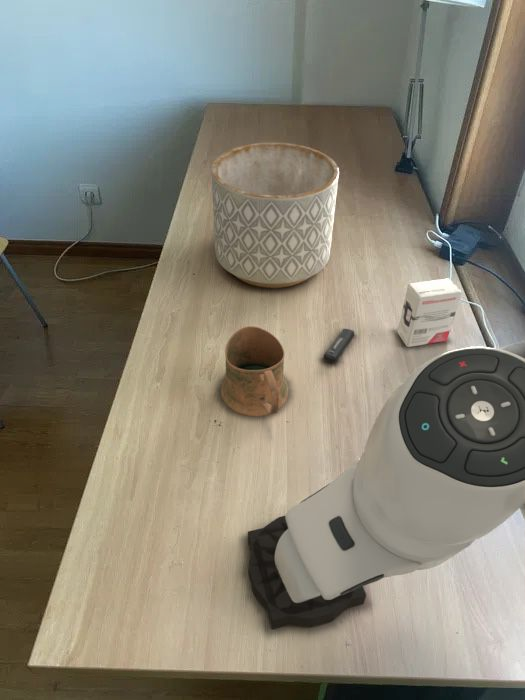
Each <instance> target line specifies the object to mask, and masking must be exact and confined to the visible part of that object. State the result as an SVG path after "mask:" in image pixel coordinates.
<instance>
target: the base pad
mask: <svg viewBox="0 0 525 700" xmlns="http://www.w3.org/2000/svg"><path fill="white" fill-rule="evenodd" d="M285 516H286V515H281V516H278V517H277V518H275V519H273V520H272V521H271V522H269V523H268V524H266V525H265V526H264V527H262V528H256V529H252V530H249V531H247V542H248V546H249V550H250V554H249V560H248V577H249V581H250V585H251V588H252V592H253V595H254V597H255V598H256V599H257V600H258V602H259V603H260V605H261V606H262V607H263V609H264V610H265V611H266V612H267V613H266V614H267V616H268V621H269V624H270V627H271V628H270V629H271V630H275V629H278V628H282V627H284V626H285V627H286V626H288V625H289V626H290V625H291V626H296V627H297V626H298V627H303V628H314V627H318V626H321V625H324V624H328V623H331V622H333V621H335V620H336V619H337V618H338V617H339V616H340V615H342V614H343V613H344V612H345V611H346V610H348V609H350V608H353V607H357V606H361V605H364V603H365V601H366V597H367V593H366V591H365V589H364V586H362V587H360V588H358V589H355V590H353V591H351V592H349V593H347V594H345V595H339V596H337V597H335V598H333V599H331V600H325V599H324V598H323V597H322V595H320V596H317V597H315V598H312V599H309V600H306V601H303V602H299V603H295V602H293V601H292V599H291V598H290V596H289V594H288V592H287V590H286V587H285V585H284V583H283V581H282V579H281V576H280V574H279V572H278V569H277V567H276V564H275V551H276V547H277V544H278V541H279V539H280V537H281V536H282V534H283V533H284V532H285V531H286V530H287V529H288V526H287V523H286V519H285Z"/></svg>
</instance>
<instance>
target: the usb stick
mask: <svg viewBox="0 0 525 700" xmlns="http://www.w3.org/2000/svg"><path fill="white" fill-rule="evenodd" d="M354 337H355V331H354V330H352V329H350V328H342V329H341V331H340V332H339V334H338V335H337V336H336V337H335V339H334V341H333V342H332V343H331V345H330V346H329V347H328V349H327V350H326V351H325V353H324V354H323V360H324V361H326V362H329V363H331V364H333V363H336V362H337V360H338V359H339V358H340V356H341V355H342V353H343V352H344V351H345V349H346V348H347V346H348V345H349V343H350V342H351V341H352V339H353V338H354Z"/></svg>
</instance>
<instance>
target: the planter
mask: <svg viewBox="0 0 525 700" xmlns="http://www.w3.org/2000/svg"><path fill="white" fill-rule="evenodd" d="M339 170H340V169H339V166H338V164H337V163H336V161H335V160H333V159H332V158H331V157H330V156H328V155H327V154H325V153H324V152H321V151H320V150H318V149H315V148H312V147H309V146H306V145H305V146H304V145H301V144H297V143H296V144H295V143H288V142H257V143H250V144H245V145H241V146H238V147H237V146H236V147H234V148H230V149H229V150H226V151H225V152H223V153H221V154H220V155H219V156H217V157H216V158H215V159H214V161H213V163H212V165H211V189H212V211H213V229H214V232H213V233H214V248H215V249H214V250H215V257H216V260H217V261H218V263H219V264H220V265H221V267H222V268H223V269H224V270H226V271H227V272H229V273H230V274H232V275H233V276H234V277H236V278H237V279H238V280H240V281H242V282H244V283H247V284H249V285H251V286H255V287H259V288H260V287H261V288H268V289H279V288H287V287H291V286H295V285H298V284H301V283H303V282H306V281H307V280H309V278H311V277H312V276H315V275H316V274H318V273H319V272H321V271H322V270H323V269H324V268H325V267H326V266H327V264H328V262H329V260H330V257H331V249H332V239H333V238H332V237H333V230H334V221H335V212H336V202H337V193H338V185H339V183H338V182H339V175H340V171H339Z"/></svg>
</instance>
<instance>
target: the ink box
mask: <svg viewBox="0 0 525 700" xmlns="http://www.w3.org/2000/svg"><path fill="white" fill-rule="evenodd" d="M462 294H463V292H462V290H461V289H460V288H459V287H458V286H457V285H456V284H455V283H454V282H453V280H451V278H449V277H446V278H440V279H439V278H438V279H432V280H426V281H419V282H418V281H417V282H411V283H408V284H407V288H406V291H405V296H404V301H403V305H402V309H401V314H400V318H399V323H398V326H397V331H396V332H397V334H398V336H399V338H400V339H401V341H402V342H403V343H404V345H405V346H406V347H407V348H410V347H416V346H417V347H418V346H424V345H428V344H435V343H442V342H446V341H447V340H448V339H449V338H448V337H449V335H450V331H451V328H452V325H453V322H454V319H455V316H456V313H457V309H458V306H459V303H460V301H461V297H462Z"/></svg>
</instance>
